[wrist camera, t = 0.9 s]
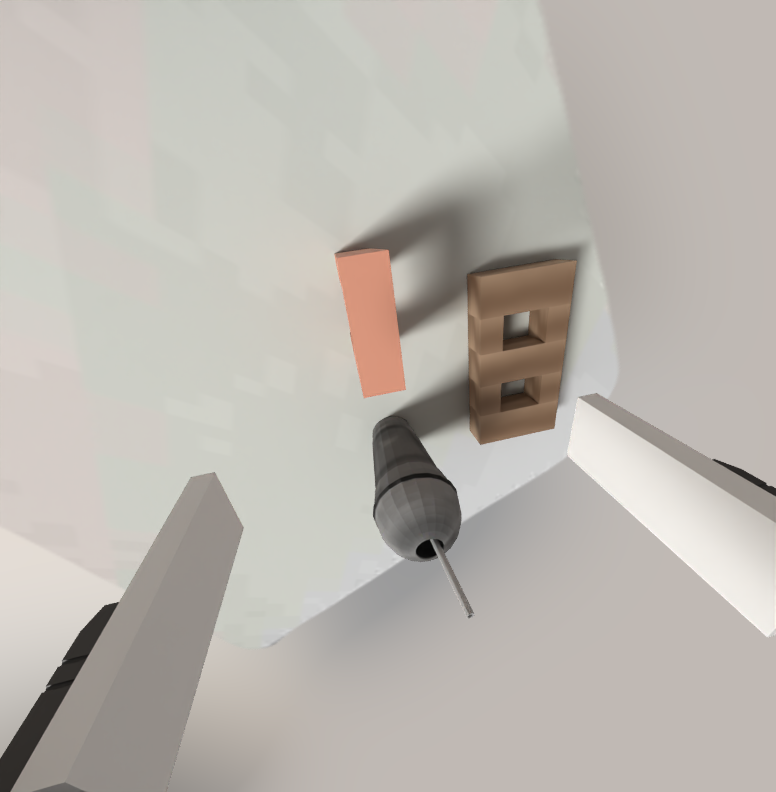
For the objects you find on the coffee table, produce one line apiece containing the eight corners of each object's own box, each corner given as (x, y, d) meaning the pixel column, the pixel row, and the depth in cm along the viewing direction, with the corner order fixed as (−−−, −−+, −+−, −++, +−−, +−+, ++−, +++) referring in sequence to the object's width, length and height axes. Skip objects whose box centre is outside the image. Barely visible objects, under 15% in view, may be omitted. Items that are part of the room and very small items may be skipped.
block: (334, 253, 27) (336, 258, 17) (368, 248, 27) (388, 249, 18) (353, 351, 31) (364, 398, 21) (383, 346, 31) (405, 389, 22)
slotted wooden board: (467, 274, 29) (480, 277, 27) (554, 259, 30) (576, 260, 27) (469, 430, 37) (480, 444, 35) (538, 415, 38) (554, 428, 36)
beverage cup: (367, 401, 33) (408, 577, 16) (429, 409, 35) (529, 575, 17) (355, 456, 36) (379, 657, 19) (413, 460, 38) (486, 648, 20)
